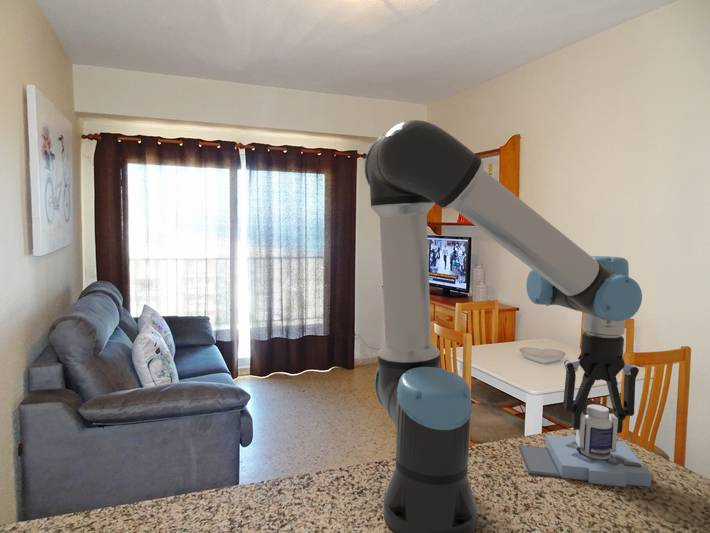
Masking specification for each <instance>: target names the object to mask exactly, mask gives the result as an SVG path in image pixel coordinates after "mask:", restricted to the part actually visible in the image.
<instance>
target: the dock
mask: <svg viewBox="0 0 710 533" xmlns="http://www.w3.org/2000/svg"><path fill="white" fill-rule="evenodd" d="M544 443H545V444H544V447H545V448H547V449H548V451H549V453H550V455H551V457H552V459H553V461H554V463H555V465H556V467H557V469H558V471H559V473H560V475H561V479H572V480H580V481H587V482H588V484H595V485H604V486H605V485H606V486H613V487H614V486H616V487H625V488H626V486H628V485H630V486H631V485H632V486H640V487H641V486H642V487H648V488H651V487H652V479H653V473H652V472H651V471H650V470H649V468H648V467H646V465H645V464H644V463H643V462H642V461H641V459H639V458H638V456H637V455H636V454H635V453H634V451H633V450H632V449H631V448H630V447H629V446H628V445H627V444H626V443H625V441H622V440H621V441H620V440H617V442H616V450H611V448H610V457H609V458H608V459H605V460H598V459H593V458H590V457H587V456H585V455H584V454H583V453H582V452H581V447H579V446H578V444H577V443H576V434H575V435H573V434H567V435H566V436H564V435H555V434H554V435H553V434H545V442H544Z"/></svg>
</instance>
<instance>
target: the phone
mask: <svg viewBox="0 0 710 533" xmlns="http://www.w3.org/2000/svg"><path fill="white" fill-rule="evenodd" d="M517 447H518V451H519V453H520V456H521V458H522V461H523V463H524V464H523V465H524V466H525V469H526V472H527V474H528V475H530V476H540V477H548V478H549V477H550V478H559V479H560V478H561V475H560V473H559V471H558V469H557V467H556V465H555V463H554V461H553V459H552V457H551V455H550V453H549V451H548V449H547V448H546V447H543V446H542V447H541V446H529V445H522V444H521V445H517ZM561 479H562V478H561Z"/></svg>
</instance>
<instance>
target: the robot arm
mask: <svg viewBox="0 0 710 533" xmlns="http://www.w3.org/2000/svg"><path fill="white" fill-rule="evenodd" d="M364 176H365V179H366V181H367V184H368V186H369V192H370V193H369V195H370V209H372V211H374V212H375V213H376V214H377V215H378V217H379V230H380V233H379V234H380V253H381V272H382V274H381V278H382V296H383V316H384V317H383V320H384V341H385V343H384V344H383V345H382V347H381V348H380V349H379V350H378V351H377V365H378V366H377V369H376V372H375V375H374V389H375V394H376V396H377V399H378V400H377V401H379V404H380V405H381V406H382V407H383V409H384V410H385V411H386V414H387V415H388V417H389V418H390V420H391V421H392V423H393V425H394V427H395V430H396V438H395V439H396V442H395V444H396V445H395V466H394V470H393V473H392V476H391V479H390V481H389V484H388V486H387V489H386V491H385V494H384V497H383V509H382V515H383V518H384V521H385V523H386V525H387V526H388V527H389V528H390V529H391V530H392V531H393V532H394V533H474V532H475V530H476V528H477V518H478V516H477V513H478V512H477V511H478V510H477V505H476V503H475V502H476V501H475V498H474V494H473V490H472V487H471V483H470V480H469V476H468V470H469V469H468V465H469V451H470V435H471V434H470V433H471V415H472V412H473V411H472V409H473V404H472V397H471V395H472V394H471V393H472V392H471V388H470V386H469V384H468V382H467V381H466V380H465V379H464V378H463V377H462V376H461V375H459V374H457V373H455V372H454V371H448V370H447V369H444V368H441V352H440V349H439V348H438V347H436V345H435V344H434V343H432V330H431V329H432V327H431V300H430V299H431V297H430V295H431V294H430V275H429V274H430V272H429V268H430V267H429V242H428V219H427V218H428V217H427V216H428V213H429V211H430V210H431V209H432V208H433V207H434V206H435V205H437V206H438V207H439V208H441V209H453V210H454V211H455V212H457V214H460V216H462V217H463V218H465V219H466V220H467V221H469V223H471V224H472V225H474V226H475V227H477V228H478V229H479V230H480V231H482V232H483V233H484V234H486V235H487V236H488V237H490V238H491V239H492V240H493V241H495V242H496V243H497V244H499V246H501V247H503V248H504V249H505V250H507V251H508V252H509V253H511V255H513V256H514V257H515V258H516V259H518V260H520V261H521V262H522V263H524V264H525V265H526V266H527V267H529V268H530V271H529V273H528V275H527V277H526V284H525V285H526V292H527V296H528V298H529V300H530V301H531V302H532V304H535V305H539V306H540V305H544V306H548V307H549V306H560V307H563V308H566V309H570V310H574V311H577V312H581V313H583V314H582V315H583V317H582V330H583V333H582V334H581V343H580V344H581V346H580V354H579V356H578V358H577V359H576V360H575V359H573V360H568V359H567V360H564V362H563V365H564V368H565V371H566V372H565V382H564V392H563V404H562V405H563V407H564V408H565V409H566V411H568V412H571V413H572V414H571V417H572V418H571V426H572V428H573V429H574V430H576V432H575V436H576V443H577V444H578V446H579V447H583V446H584V431H585V415H586V414H584V412H583V411H584V408H585V405H586V402H587V400H588V398H589V396H590V395H589V394H590V392H591V389H592V387H593V386H594V384H595V383H596V381H605V382H606V385H607V390H608V393H609V398H610V403H611V406H612V411H613V413H609V417H608V419H609V420H610V421H611V423H612V431H611V446H610V448H611V450H616V442H617V441H618V434H622V433H623V432H622V431H623V425H624V420H626V417H627V416H628V417H633V416H634V415H635V404H636V402H635V397H636V396H635V395H636V378H637V377H638V375H639V372H640V370H639V368H638V367H637V366H636V365H634V364H633V363H632V364H629V363H626V362H625V361H624V357H623V356H624V346H625V344H624V343H625V338H624V337H623V335H624V334H625V332H626V331H625V330H626V329H625V328H626V321H627V320H629V319H631V318H632V317H633V316H635V315H636V314H637V312H639V309H640V308H641V305H642V302H643V301H642V300H643V292H642V288H641V286H640V284H639V283H638V282H637V281H636V280H635V279H633V278H632V277H630V273H629V272H630V271H629V267H630V266H629V261H628V260H627V259H626V258H625V257H620V256H612V255H611V256H609V255H607V256H605V255H590V254H589V253H588V252H586V251H585V250H584V249H583V248H581V247H580V246H579V245H578V244H576V243H575V242H574V241H573V240H571V239H570V238H569V237H567V235H565V234H564V233H563V232H562V231H560V230H559V229H558V228H556V227H555V226H554V225H553V224H551V223H550V222H549V221H547V220H546V219H545V218H544V217H543V216H541V214H539V213H538V212H536V211H535V210H534V209H533V208H532V207H531V206H530V205H528V204H527V203H525V202H524V201H523V200H522V199H520V198H519V197H518V196H517V195H516V194H514V193H513V192H512V191H511V190H510V189H508V188H507V187H506V186H504V185H503V184H502V183H501V182H500V181H498V180H497V179H496V178H494V177H493V176H492V175H491V174H489V173H488V172H487V171H486V170H484V161H483V159H482V158H481V157H479V156H478V155H477V154H475V152H474V151H472V150H471V149H469V148H468V147H467V146H466V145H464V144H463V143H462V142H461V141H459V140H458V139H457V138H455V137H454V136H453V135H452V134H450V133H448V132H447V131H446V130H444V129H443V128H441V127H439V126H437V125H436V124H434V123H432V122H428V121H425V120H418V119H412V120H407V121H403V122H400V123H398V124H396V125H394V126H393V127H392V128H391V129H389V131H387V132H386V133H385V134H383V135H381V136H380V137H379V138H377V139H376V140H375V141H374V142H373V143H372V145H371V146H370V147H369V150H368V151H367V154H366V156H365V160H364ZM579 367H581V369H582V370H583V371H584V372H583V376H582V380H581V382H580V385H579V388H578V391H577V393H576V396H575V388H576V387H575V386H576V379H577V376H576V375H577V374H576V373H577V372H578V371H579ZM621 371H623V372H622V373H623V374H624V375H623V397H622V398H623V399H621V396H620V392H619V387H618V380H617V376H618V375H619V373H620V372H621ZM574 396H575V399H574ZM621 400H623V403H622V401H621Z"/></svg>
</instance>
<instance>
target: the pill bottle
mask: <svg viewBox="0 0 710 533" xmlns="http://www.w3.org/2000/svg"><path fill="white" fill-rule="evenodd" d="M586 413H587V414H584V415H585V431H584V446H583V447H581V452H582V453H583V454H584V455H585V456H587V457H588V458H590V459H593V460H605V459H608V458H609V457H610V446H611V431H612V423H611V421H610V420H609V414H610V409H609V408H608V407H606V406H603V405H601V404H588V405H587V406H586Z"/></svg>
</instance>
